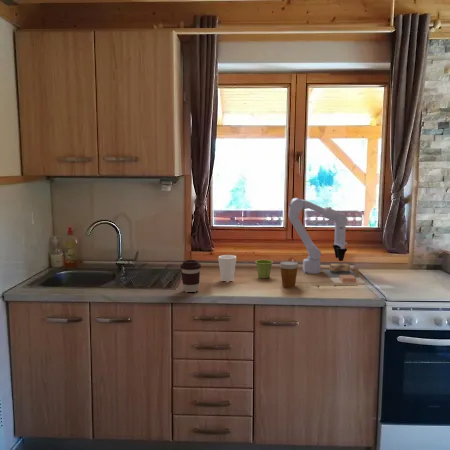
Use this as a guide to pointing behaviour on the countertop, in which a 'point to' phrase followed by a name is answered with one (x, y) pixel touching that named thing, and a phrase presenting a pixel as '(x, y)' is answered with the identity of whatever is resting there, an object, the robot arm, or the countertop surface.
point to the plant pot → (263, 268)
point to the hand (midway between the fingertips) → (339, 259)
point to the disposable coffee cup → (288, 273)
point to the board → (335, 276)
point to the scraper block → (339, 268)
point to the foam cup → (227, 267)
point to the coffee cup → (190, 275)
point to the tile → (347, 278)
